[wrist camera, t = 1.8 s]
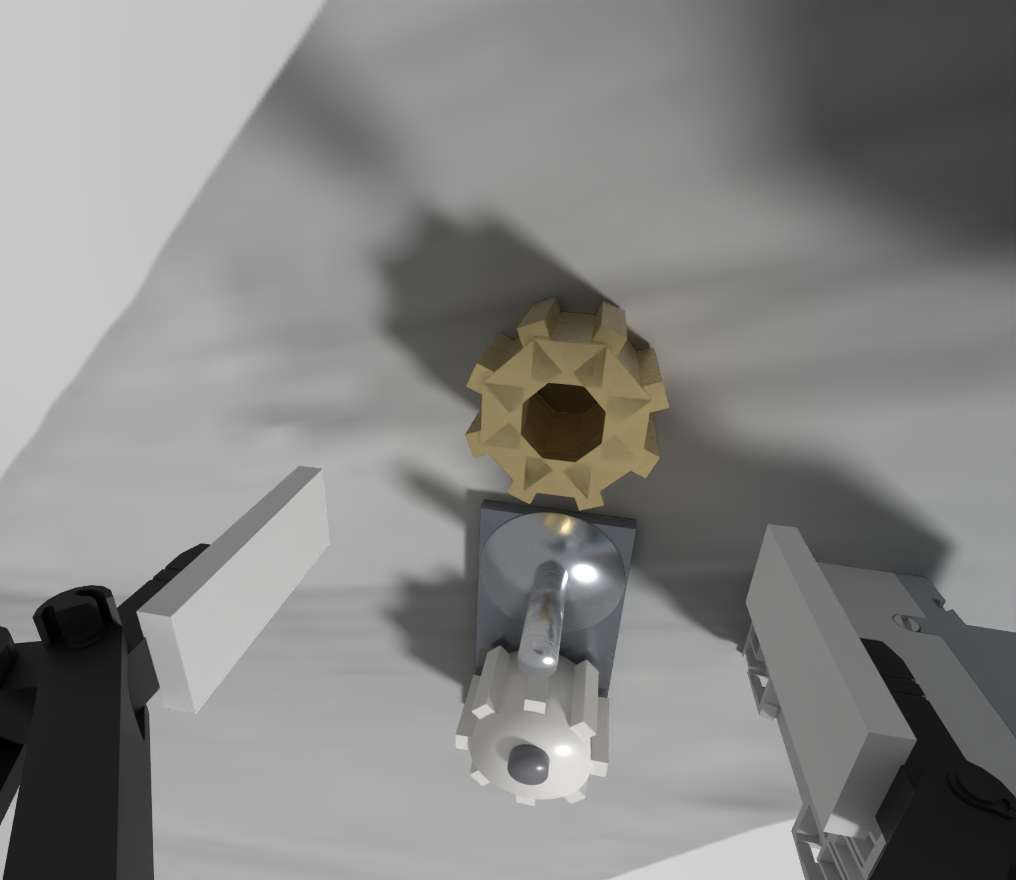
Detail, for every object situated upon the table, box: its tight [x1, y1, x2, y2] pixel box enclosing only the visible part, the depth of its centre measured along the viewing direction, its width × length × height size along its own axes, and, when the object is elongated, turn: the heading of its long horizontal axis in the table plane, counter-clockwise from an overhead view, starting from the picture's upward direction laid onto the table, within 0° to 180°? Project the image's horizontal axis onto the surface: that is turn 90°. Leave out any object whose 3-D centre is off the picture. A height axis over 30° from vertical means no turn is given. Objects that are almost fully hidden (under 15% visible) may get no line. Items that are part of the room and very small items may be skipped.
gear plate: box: [475, 500, 636, 698], centre depth 33 cm, size 9×18×8 cm, turn 177°
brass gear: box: [465, 297, 669, 511], centre depth 27 cm, size 9×9×6 cm
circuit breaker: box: [742, 562, 1016, 880], centre depth 26 cm, size 8×14×15 cm, turn 86°
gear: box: [456, 645, 609, 806], centre depth 35 cm, size 9×9×6 cm
